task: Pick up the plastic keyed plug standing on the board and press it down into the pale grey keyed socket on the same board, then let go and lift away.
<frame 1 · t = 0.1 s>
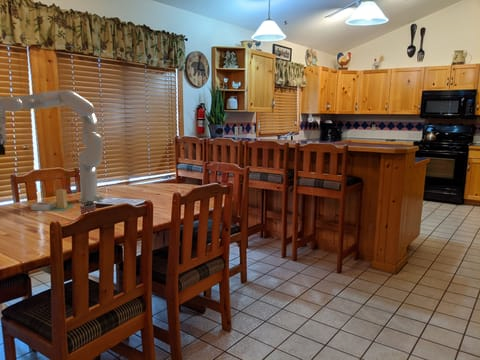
hand: (0, 154, 196), 31 cm above the table, tool pointing down, fingers open, 9 cm apart
lighter: (88, 220, 191), on the table
board: (53, 209, 209), on the table
plug: (62, 207, 210), point 1 cm above the table, touching board
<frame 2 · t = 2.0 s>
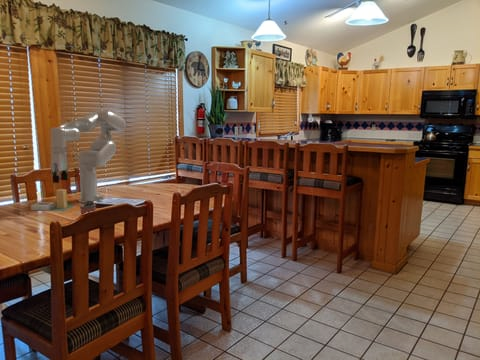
hand: (60, 181, 207), 16 cm above the table, tool pointing down, fingers open, 9 cm apart
nothing on the table moved.
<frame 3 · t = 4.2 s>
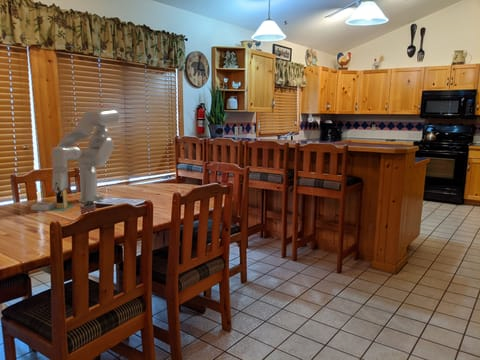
hand: (61, 201, 210), 4 cm above the table, tool pointing down, fingers closed on plug, 4 cm apart
plug: (62, 207, 210), point 1 cm above the table, touching board, gripper
everything else where it was.
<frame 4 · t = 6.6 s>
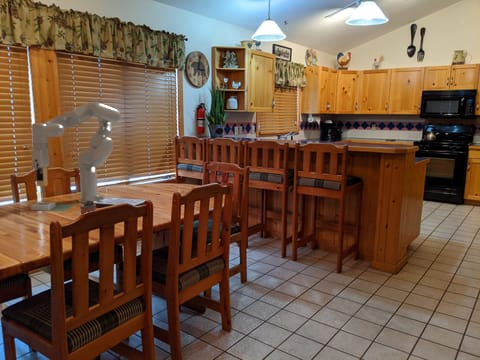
hand: (42, 179, 204), 17 cm above the table, tool pointing down, fingers closed on plug, 4 cm apart
plug: (42, 185, 205), point 14 cm above the table, touching gripper
everything else where it was.
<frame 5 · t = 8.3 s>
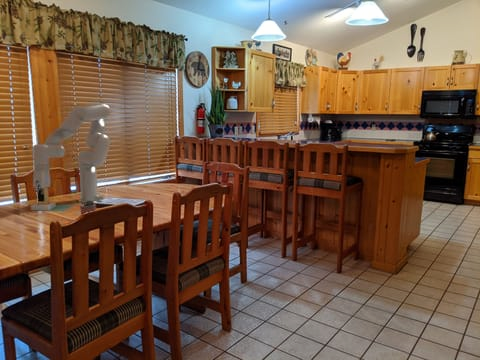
hand: (43, 200, 206), 6 cm above the table, tool pointing down, fingers closed on plug, 4 cm apart
plug: (43, 205, 207), point 2 cm above the table, touching gripper
everything else where it was.
when the fingers open (5 cm above the table, at t = 9.5 s): plug stays where it is, resting on board.
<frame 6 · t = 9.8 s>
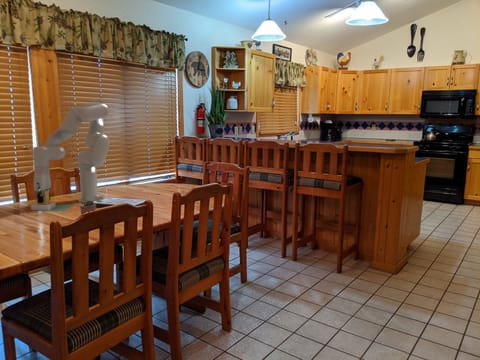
hand: (43, 201, 207), 5 cm above the table, tool pointing down, fingers open, 6 cm apart
plug: (44, 208, 207), point 1 cm above the table, touching board
everything else where it was.
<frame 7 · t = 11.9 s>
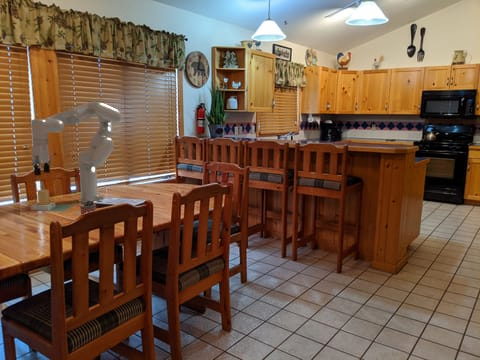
hand: (42, 173, 204), 20 cm above the table, tool pointing down, fingers open, 9 cm apart
nothing on the table moved.
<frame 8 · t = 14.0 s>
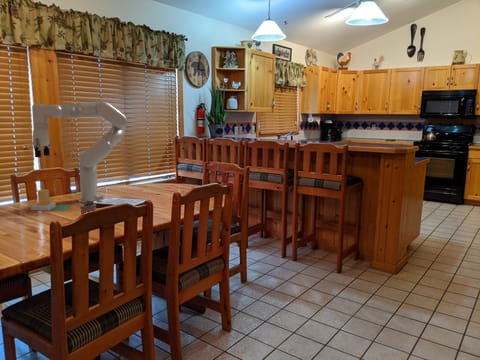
hand: (42, 156, 215), 28 cm above the table, tool pointing down, fingers open, 9 cm apart
nothing on the table moved.
at the end: plug 0.0 cm from the target spot on the board, point 1.0 cm above the board's base; plug tilted 0°; the gripper is holding nothing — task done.
